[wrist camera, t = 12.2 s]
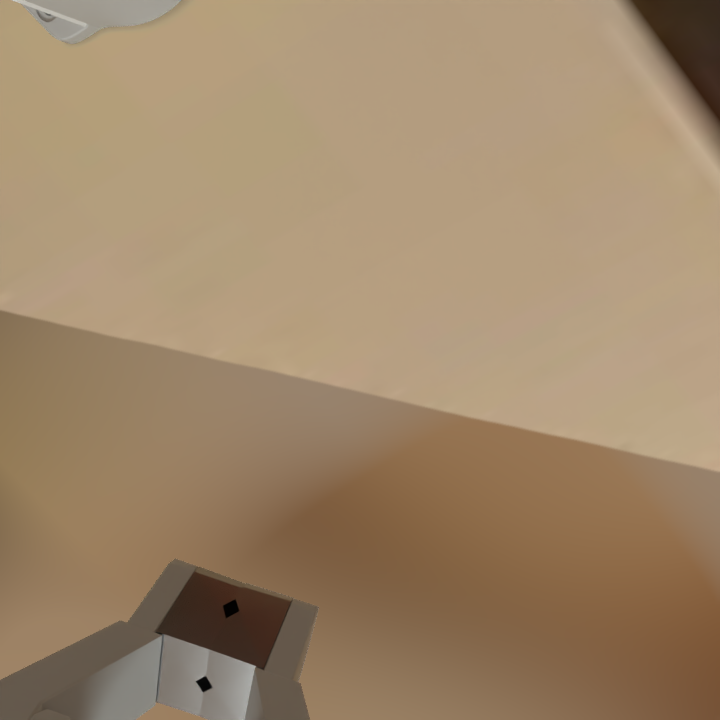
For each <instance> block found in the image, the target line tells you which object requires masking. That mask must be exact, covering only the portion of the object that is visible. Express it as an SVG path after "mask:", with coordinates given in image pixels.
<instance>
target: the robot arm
mask: <svg viewBox="0 0 720 720" xmlns="http://www.w3.org/2000/svg"><path fill="white" fill-rule="evenodd" d="M13 1H15V2H18V3H21V4H22V5H23V6H24V7H25V8H26V9H27V11H28V12H29V13H30V14H31V15H32V16H33V17H34V18H35V19H36V20H37V21H38V22H39V23H40V24H41V25H42V26H43V27H44V28H45V29H46V30H47V31H48V32H49V33H50V34H51V35H52V36H53V37H54V38H56V39H58V40H60V41H63V42H65V43H69V44H74V43H78V42H80V41H82V40H84V39H86V38H88V37H89V36H91V35H92V34H94V33H95V32H97V31H98V30H100V29H102V28H106V27H117V26H133V25H139V24H143V23H146V22H149V21H152V20H154V19H156V18H158V17H160V16H162V15H164V14H165V13H167V12H168V11H170V10H171V9H172V8H173V7H175V6H176V5H177V4H178V3H179V2H180V1H181V0H13ZM318 608H319V607H318V606H315V605H312V604H309V603H305V602H303V601H300V600H297V599H293V598H292V597H289V596H286V595H282V594H279V593H276V592H273V591H270V590H267V589H264V588H260V587H257V586H254V585H251V584H247V583H246V584H245V583H242V582H240V581H237V580H234V579H231V578H229V577H226V576H223V575H220V574H218V573H215V572H212V571H209V570H207V569H204V568H201V567H198V566H195V565H192V564H189V563H186V562H184V561H181V560H178V559H174V560H173V561H172V562H170V563H169V564H168V566H167V567H166V568H165V570H164V571H163V572H162V574H161V575H160V577H159V578H158V580H157V581H156V582H155V584H154V585H153V587H152V588H151V590H150V591H149V592H148V594H147V595H146V597H145V598H144V600H143V601H142V602H141V604H140V606H139V607H138V608H137V610H136V611H135V613H134V614H133V615H132V617H131V618H130V620H129V621H128V622H123V621H118V622H116V623H114V624H112V625H110V626H108V627H106V628H104V629H102V630H100V631H98V632H96V633H94V634H92V635H90V636H88V637H86V638H84V639H82V640H80V641H78V642H76V643H74V644H72V645H70V646H68V647H66V648H64V649H62V650H60V651H58V652H56V653H54V654H52V655H50V656H48V657H46V658H44V659H42V660H40V661H37V662H35V663H33V664H32V665H29V666H27V667H25V668H23V669H21V670H20V671H17V672H15V673H13V674H11V675H9V676H8V677H5V678H3V679H1V680H0V720H136V719H137V718H139V717H140V716H141V715H142V714H144V713H145V712H147V711H148V710H149V709H151V708H152V707H153V706H155V703H156V702H157V703H161V704H164V705H167V706H170V707H173V708H176V709H179V710H183V711H185V712H188V713H191V714H194V715H198V716H201V717H203V718H206V719H208V720H310V718H309V714H308V710H307V706H306V703H305V699H304V695H303V691H302V687H301V684H300V683H299V682H298V681H299V678H300V675H301V671H302V668H303V664H304V661H305V658H306V654H307V650H308V647H309V643H310V640H311V635H312V632H313V628H314V624H315V621H316V617H317V613H318Z"/></svg>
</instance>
